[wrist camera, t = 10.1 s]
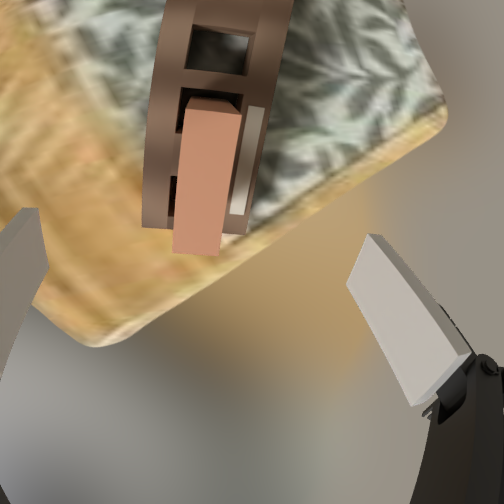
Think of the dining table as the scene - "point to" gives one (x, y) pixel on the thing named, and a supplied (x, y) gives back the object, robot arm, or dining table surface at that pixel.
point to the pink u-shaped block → (204, 174)
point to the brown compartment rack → (247, 86)
